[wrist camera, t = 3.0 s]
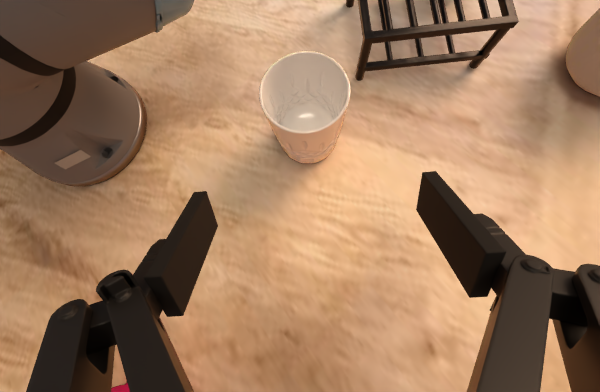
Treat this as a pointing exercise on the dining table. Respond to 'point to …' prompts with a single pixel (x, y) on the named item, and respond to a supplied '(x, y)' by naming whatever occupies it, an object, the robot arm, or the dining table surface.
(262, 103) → the white cup
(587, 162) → the dining table surface
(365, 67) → the wire rack
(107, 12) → the robot arm
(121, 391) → the pepper mill
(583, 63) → the teacup
